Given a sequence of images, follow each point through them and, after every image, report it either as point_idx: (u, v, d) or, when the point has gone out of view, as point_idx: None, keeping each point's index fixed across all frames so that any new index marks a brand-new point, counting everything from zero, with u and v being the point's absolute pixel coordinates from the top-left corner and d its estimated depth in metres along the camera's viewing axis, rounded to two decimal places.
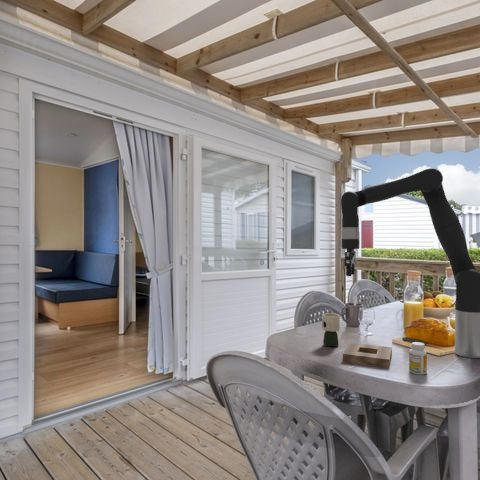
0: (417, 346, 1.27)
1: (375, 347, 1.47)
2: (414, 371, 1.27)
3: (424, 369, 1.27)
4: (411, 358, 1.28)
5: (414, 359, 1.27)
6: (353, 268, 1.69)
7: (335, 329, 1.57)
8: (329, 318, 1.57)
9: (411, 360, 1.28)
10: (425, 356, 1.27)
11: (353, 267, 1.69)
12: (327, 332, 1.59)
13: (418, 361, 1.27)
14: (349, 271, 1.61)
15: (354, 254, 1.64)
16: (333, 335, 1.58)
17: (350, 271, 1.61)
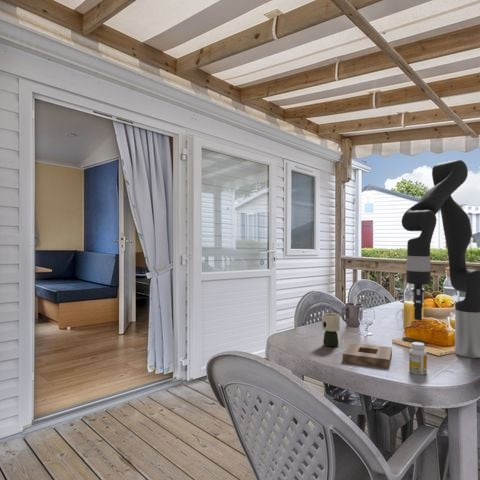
0: (417, 346, 1.27)
1: (375, 347, 1.47)
2: (414, 371, 1.27)
3: (424, 369, 1.27)
4: (411, 358, 1.28)
5: (414, 359, 1.27)
6: None
7: (335, 329, 1.57)
8: (329, 318, 1.57)
9: (411, 360, 1.28)
10: (425, 356, 1.27)
11: None
12: (327, 332, 1.59)
13: (418, 361, 1.27)
14: (419, 314, 1.24)
15: (424, 291, 1.27)
16: (333, 335, 1.58)
17: (420, 313, 1.25)
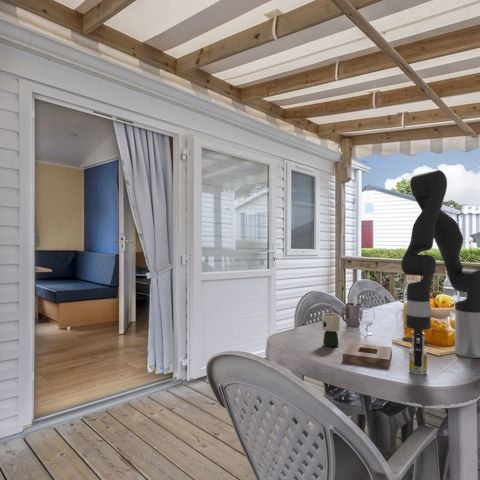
0: None
1: (375, 347, 1.47)
2: (414, 371, 1.27)
3: (424, 369, 1.27)
4: (411, 358, 1.28)
5: None
6: None
7: (335, 329, 1.57)
8: (329, 318, 1.57)
9: (411, 360, 1.28)
10: (425, 356, 1.27)
11: None
12: (327, 332, 1.59)
13: None
14: (419, 361, 1.25)
15: (424, 336, 1.27)
16: (333, 335, 1.58)
17: (420, 360, 1.26)
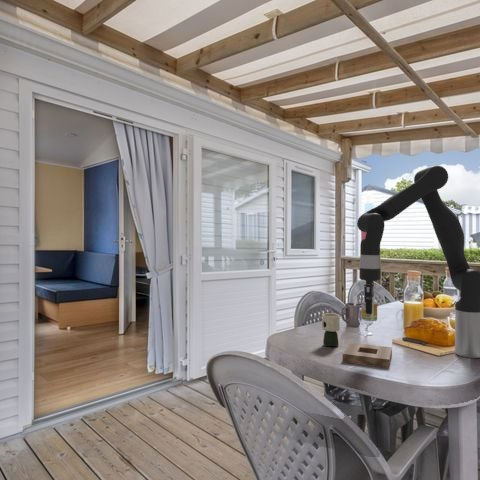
0: None
1: (375, 347, 1.47)
2: (365, 318, 1.41)
3: (374, 317, 1.40)
4: (363, 307, 1.42)
5: (365, 307, 1.41)
6: None
7: (335, 329, 1.57)
8: (329, 318, 1.57)
9: (363, 309, 1.42)
10: (375, 305, 1.41)
11: None
12: (327, 332, 1.59)
13: None
14: (369, 308, 1.39)
15: (375, 287, 1.40)
16: (333, 335, 1.58)
17: None
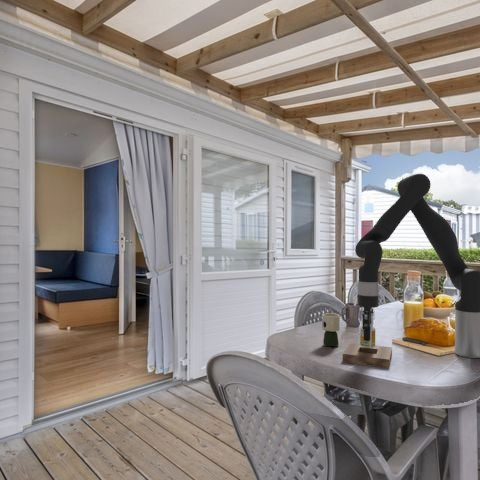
0: None
1: (375, 347, 1.47)
2: (363, 345, 1.42)
3: (372, 343, 1.41)
4: (361, 333, 1.43)
5: None
6: None
7: (335, 329, 1.57)
8: (329, 318, 1.57)
9: (361, 335, 1.43)
10: (373, 331, 1.41)
11: None
12: (327, 332, 1.59)
13: None
14: (367, 335, 1.40)
15: (373, 313, 1.41)
16: (333, 335, 1.58)
17: (368, 335, 1.40)
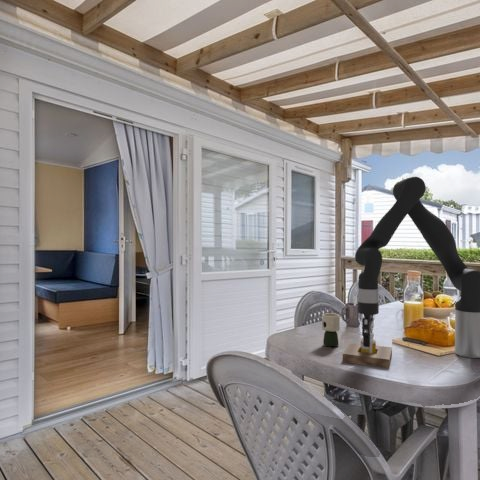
0: None
1: None
2: None
3: None
4: (362, 346, 1.43)
5: None
6: None
7: (335, 329, 1.57)
8: (329, 318, 1.57)
9: (362, 347, 1.43)
10: (374, 344, 1.41)
11: None
12: (327, 332, 1.59)
13: (367, 349, 1.41)
14: (367, 341, 1.39)
15: (373, 320, 1.41)
16: (333, 335, 1.58)
17: (368, 341, 1.39)
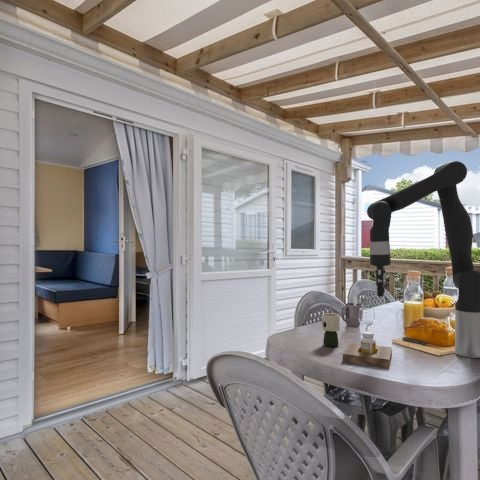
0: (367, 335, 1.42)
1: None
2: None
3: None
4: (362, 346, 1.43)
5: (364, 346, 1.42)
6: (383, 286, 1.52)
7: (335, 329, 1.57)
8: (329, 318, 1.57)
9: (362, 347, 1.43)
10: (374, 344, 1.41)
11: None
12: (327, 332, 1.59)
13: (367, 349, 1.41)
14: (381, 291, 1.44)
15: (385, 271, 1.46)
16: (333, 335, 1.58)
17: (382, 291, 1.44)
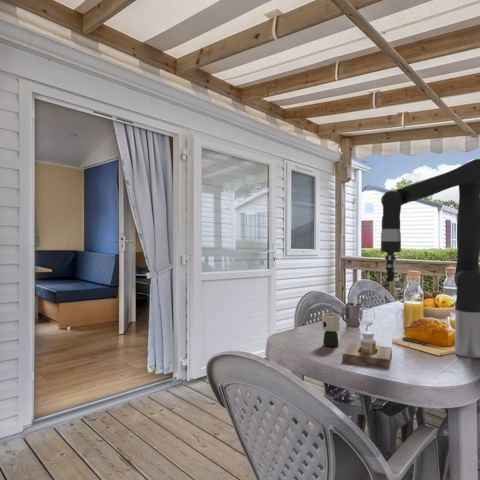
0: (367, 335, 1.42)
1: None
2: None
3: None
4: (362, 346, 1.43)
5: (364, 346, 1.42)
6: (393, 272, 1.58)
7: (335, 329, 1.57)
8: (329, 318, 1.57)
9: (362, 347, 1.43)
10: (374, 344, 1.41)
11: (393, 271, 1.58)
12: (327, 332, 1.59)
13: (367, 349, 1.41)
14: (391, 276, 1.50)
15: (395, 258, 1.53)
16: (333, 335, 1.58)
17: (391, 276, 1.50)
